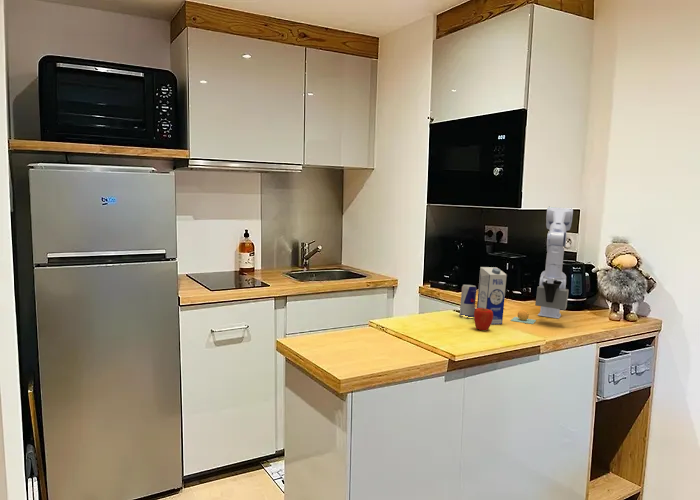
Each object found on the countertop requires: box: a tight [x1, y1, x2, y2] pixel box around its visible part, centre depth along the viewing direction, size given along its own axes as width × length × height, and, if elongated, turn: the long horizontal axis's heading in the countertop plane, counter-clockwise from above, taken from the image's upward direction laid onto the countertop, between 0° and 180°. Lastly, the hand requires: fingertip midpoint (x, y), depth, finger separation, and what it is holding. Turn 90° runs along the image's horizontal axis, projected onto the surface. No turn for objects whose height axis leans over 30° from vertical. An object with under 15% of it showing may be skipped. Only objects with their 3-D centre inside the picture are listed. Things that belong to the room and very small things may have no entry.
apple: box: [473, 307, 493, 331], centre depth 177 cm, size 6×6×8 cm
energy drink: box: [459, 284, 477, 317], centre depth 196 cm, size 5×5×12 cm
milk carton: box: [476, 266, 508, 325], centre depth 189 cm, size 7×7×20 cm
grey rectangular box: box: [535, 286, 569, 311], centre depth 191 cm, size 6×10×7 cm, turn 62°
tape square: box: [510, 316, 537, 325], centre depth 197 cm, size 8×8×1 cm
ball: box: [517, 309, 529, 321], centre depth 196 cm, size 4×4×4 cm
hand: (550, 301), depth 192 cm, fingers closed on grey rectangular box, 6 cm apart
